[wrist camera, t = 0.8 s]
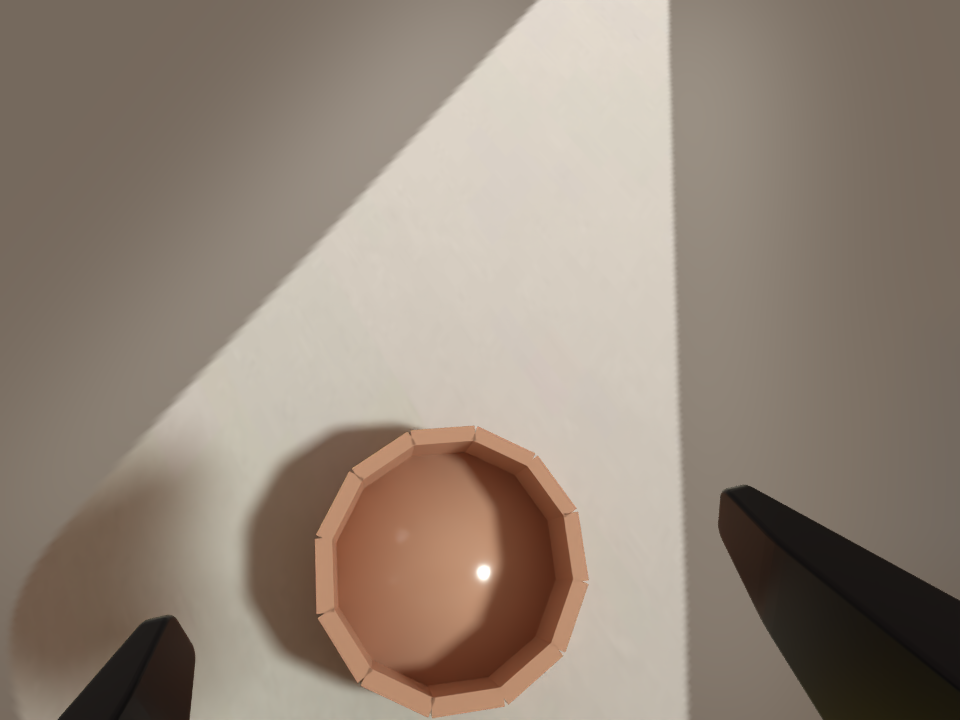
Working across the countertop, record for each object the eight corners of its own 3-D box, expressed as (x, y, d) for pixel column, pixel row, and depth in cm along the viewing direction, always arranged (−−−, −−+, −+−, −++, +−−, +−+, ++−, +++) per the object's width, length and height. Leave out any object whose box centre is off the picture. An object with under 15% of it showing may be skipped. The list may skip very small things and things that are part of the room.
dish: (579, 677, 20) (605, 690, 18) (326, 716, 19) (319, 736, 16) (544, 434, 23) (563, 419, 21) (320, 452, 21) (312, 437, 19)
